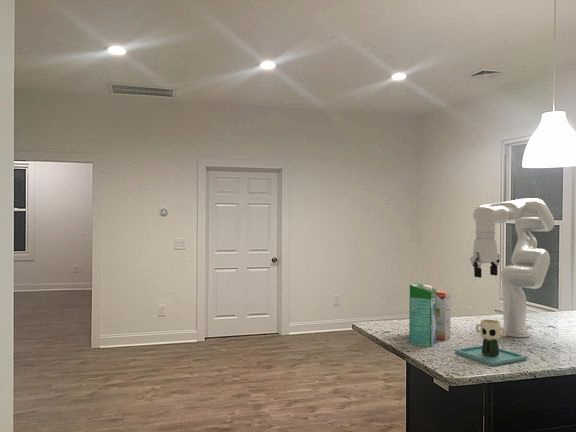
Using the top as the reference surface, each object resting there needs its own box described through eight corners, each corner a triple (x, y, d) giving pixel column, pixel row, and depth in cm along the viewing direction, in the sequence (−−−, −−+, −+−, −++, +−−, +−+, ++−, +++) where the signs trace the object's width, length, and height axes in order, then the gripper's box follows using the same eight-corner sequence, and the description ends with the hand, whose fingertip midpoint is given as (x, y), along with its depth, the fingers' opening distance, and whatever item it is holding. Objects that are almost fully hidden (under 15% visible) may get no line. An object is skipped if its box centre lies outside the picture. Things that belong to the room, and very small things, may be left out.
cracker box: (415, 335, 210) (415, 289, 210) (421, 333, 214) (421, 287, 214) (444, 341, 200) (445, 292, 200) (450, 338, 205) (450, 291, 205)
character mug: (472, 354, 179) (473, 320, 179) (478, 350, 184) (478, 317, 184) (502, 359, 172) (503, 324, 172) (507, 355, 177) (508, 321, 178)
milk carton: (430, 347, 191) (431, 286, 191) (409, 343, 196) (409, 284, 196) (436, 342, 198) (436, 283, 199) (415, 339, 203) (415, 282, 203)
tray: (487, 348, 190) (487, 344, 190) (526, 360, 174) (526, 356, 174) (454, 353, 182) (454, 349, 182) (492, 366, 166) (492, 362, 166)
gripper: (491, 234, 203) (492, 273, 203) (463, 236, 195) (464, 276, 195) (506, 235, 196) (507, 275, 197) (478, 237, 188) (478, 279, 189)
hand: (485, 276), depth 196 cm, fingers open, 9 cm apart
